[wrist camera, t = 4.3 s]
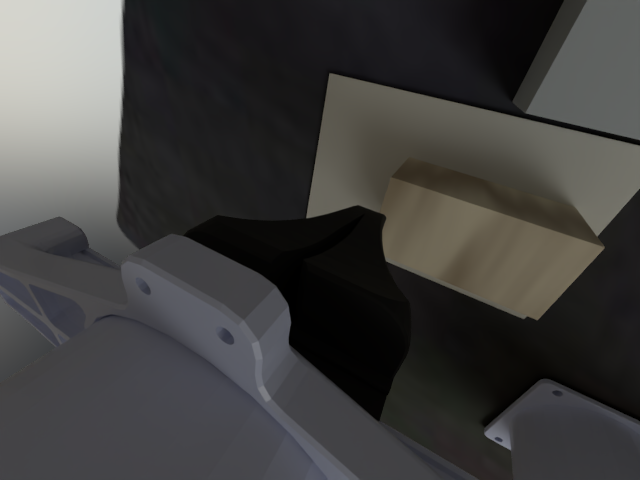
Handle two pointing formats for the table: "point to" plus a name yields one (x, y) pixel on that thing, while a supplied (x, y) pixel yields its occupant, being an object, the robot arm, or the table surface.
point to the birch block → (485, 236)
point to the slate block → (588, 68)
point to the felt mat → (461, 154)
